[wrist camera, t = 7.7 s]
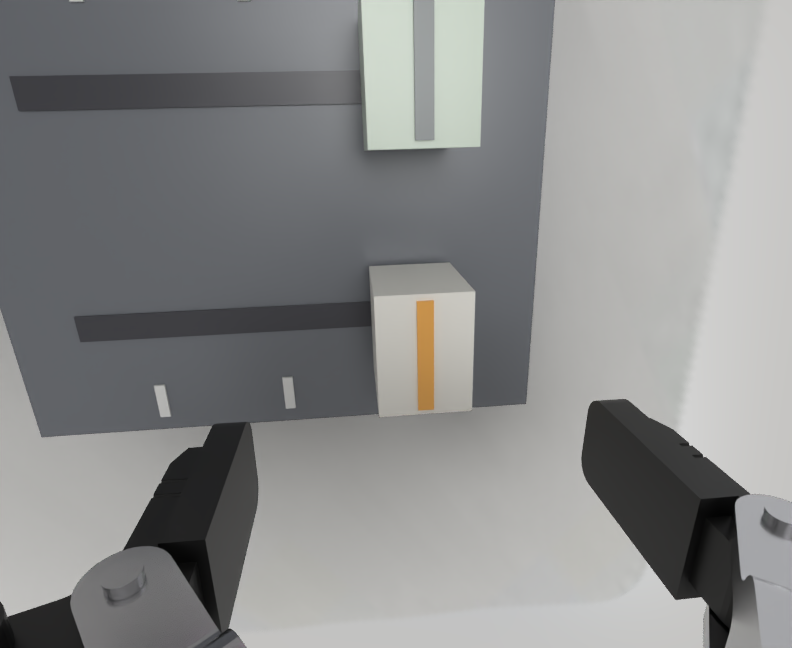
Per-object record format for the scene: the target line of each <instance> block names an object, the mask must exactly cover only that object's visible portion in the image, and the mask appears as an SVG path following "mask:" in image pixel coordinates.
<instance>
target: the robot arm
mask: <svg viewBox="0 0 792 648" xmlns="http://www.w3.org/2000/svg"><path fill="white" fill-rule="evenodd" d="M582 469H583V473H584V476H585V478H586V480H587V482H588V484H589V485H590V486H591V488H592V489H593V490H594V492H595V493H596V494H597V496H598V497H599V498H600V500H601V501H602V502H603V504H604V505H605V506H606V508H607V509H608V510H609V512H610V513H611V514H612V516H613V517H614V518H615V520H616V521H617V522H618V524H619V525H620V526H621V528H622V529H623V530H624V532H625V533H626V534H627V536H628V537H629V538H630V540H631V541H632V542H633V544H634V545H635V546H636V548H637V549H638V551H639V552H640V553H641V555H642V556H643V557H644V559H645V560H646V561H647V563H648V564H649V565H650V567H651V568H652V569H653V571H654V572H655V573H656V575H657V576H658V577H659V578H660V580H661V581H662V582H663V584H664V585H665V587H666V588H667V589H668V591H669V592H670V593H671V595H672V596H673V597H674V598H675V599H676V600H679V599H687V598H697V597H702V598H703V599H704V601H705V602H706V603H707V606H706V609H705V613H704V618H703V648H792V502H789V501H787V500H784V499H781V498H777V497H773V496H768V495H761V494H750V493H748V492H747V491H746V490H745V489H744V488H742V487H741V486H740V485H739V484H738V483H736V482H735V481H734V480H733V479H731V478H730V477H729V476H728V475H727V474H726V473H724V472H723V471H722V470H721V469H720V468H718V467H717V466H716V465H715V464H714V463H712V462H711V461H710V460H709V459H708V458H706V457H703V455H702V454H701V453H700V452H699V451H698V450H697V449H695V448H694V447H693V446H689V443H688V442H687V441H686V440H685V439H684V438H682V437H681V436H680V435H679V434H678V433H676V432H675V431H674V430H673V429H671V428H669V427H667V426H665V425H663V424H661V423H659V422H657V421H655V420H653V419H651V418H648V417H647V416H646V415H645V414H643V413H642V412H641V411H640V410H639V409H638V408H637V407H635V406H634V405H633V404H632V403H631V402H629V401H628V400H626V399H617V400H601V401H593V402H592V403H591V404H590V406H589V409H588V415H587V422H586V429H585V436H584V443H583V450H582ZM161 481H162V482H161V483H160V484H159V486H158V487H157V489H156V491H155V493H154V497H153V498H151V500H150V502H149V504H148V506H147V507H146V509H145V511H144V513H143V515H142V517H141V518H140V520H139V522H138V524H137V526H136V528H135V529H134V531H133V533H132V535H131V537H130V539H129V540H128V542H127V544H126V546H125V548H124V549H123V551H120V552H118V553H116V554H113V555H111V556H109V557H107V558H106V559H104V560H102V561H101V562H99V563H98V564H96V565H95V566H94V567H93V568H91V569H90V570H89V571H88V572H87V573H86V574H85V575H84V576H83V577H82V578H81V579H80V581H79V582H78V583H77V585H76V587H75V588H74V590H73V593H72V595H70V596H68V597H65V598H63V599H60V600H57V601H54V602H51V603H48V604H45V605H42V606H39V607H36V608H33V609H30V610H27V611H24V612H21V613H18V614H15V615H12V616H9V617H7V615H6V612H5V609H4V607H3V605H2V603H1V602H0V648H246V646H245V645H244V643H243V642H242V640H241V639H240V637H239V636H238V635H237V634H236V633H235V632H234V631H233V630H232V629H228V628H229V624H230V620H231V615H232V611H233V607H234V603H235V598H236V594H237V590H238V586H239V581H240V577H241V573H242V569H243V564H244V560H245V556H246V552H247V547H248V543H249V539H250V535H251V530H252V526H253V522H254V518H255V514H256V509H257V503H258V477H257V469H256V461H255V453H254V445H253V437H252V429H251V425H250V423H249V422H234V423H217V424H214V425H213V426H212V428H211V430H210V432H209V435H208V437H207V439H206V441H205V443H204V445H203V447H195V448H188V449H187V450H186V451H184V452H183V453H182V454H181V455H180V456H179V457H177V458H176V459H175V460H174V461H173V462H171V464H170V465H169V467H168V469H167V471H166V473H165V475H164V476H163V478H162V480H161Z"/></svg>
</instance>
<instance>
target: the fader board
mask: <svg viewBox="0 0 792 648" xmlns="http://www.w3.org/2000/svg"><path fill="white" fill-rule="evenodd" d="M554 7H555V0H485V5H484V39H483V73H482V107H481V140H480V147H464V148H437V149H403V150H368V151H364V139H363V118H362V97H361V76H360V55H359V33H358V0H0V309H1V312H2V315H3V318H4V321H5V324H6V328H7V331H8V334H9V337H10V340H11V343H12V346H13V349H14V353H15V356H16V359H17V362H18V365H19V368H20V371H21V374H22V377H23V381H24V384H25V387H26V390H27V393H28V396H29V399H30V402H31V406H32V409H33V412H34V415H35V418H36V421H37V424H38V427H39V431H40V434H41V437H52V436H66V435H81V434H95V433H110V432H124V431H139V430H153V429H168V428H182V427H197V426H211V425H214V424H217V423H234V422H249V423H255V422H269V421H284V420H298V419H313V418H327V417H342V416H356V415H371V414H379V411H378V402H377V392H376V383H375V373H374V362H373V341H372V320H371V298H370V277H369V266H382V265H403V264H425V263H446V262H450V264H451V265H452V266H453V267H454V268H455V269H456V270H457V271H458V272H459V274H460V275H461V276H462V277H463V278H464V279H465V280H466V281H467V283H468V284H469V285H470V286H471V287H472V288H473V289H474V290H475V323H474V358H473V392H472V408H473V407H487V406H502V405H516V404H526V397H527V383H528V369H529V355H530V341H531V327H532V313H533V299H534V285H535V272H536V258H537V244H538V230H539V216H540V202H541V188H542V174H543V160H544V146H545V132H546V118H547V104H548V90H549V76H550V62H551V49H552V35H553V21H554Z"/></svg>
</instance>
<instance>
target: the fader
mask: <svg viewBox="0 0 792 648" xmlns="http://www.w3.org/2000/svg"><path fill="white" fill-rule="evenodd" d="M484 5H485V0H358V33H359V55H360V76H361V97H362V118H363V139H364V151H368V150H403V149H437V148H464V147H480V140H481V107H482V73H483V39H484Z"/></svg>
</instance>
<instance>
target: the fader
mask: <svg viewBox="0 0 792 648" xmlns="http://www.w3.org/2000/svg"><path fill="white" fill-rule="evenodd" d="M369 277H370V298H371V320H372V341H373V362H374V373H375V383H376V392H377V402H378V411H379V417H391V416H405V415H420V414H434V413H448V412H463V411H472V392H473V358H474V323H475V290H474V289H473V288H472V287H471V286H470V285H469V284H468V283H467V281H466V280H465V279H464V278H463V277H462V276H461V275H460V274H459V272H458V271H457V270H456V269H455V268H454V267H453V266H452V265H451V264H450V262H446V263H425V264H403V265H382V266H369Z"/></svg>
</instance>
